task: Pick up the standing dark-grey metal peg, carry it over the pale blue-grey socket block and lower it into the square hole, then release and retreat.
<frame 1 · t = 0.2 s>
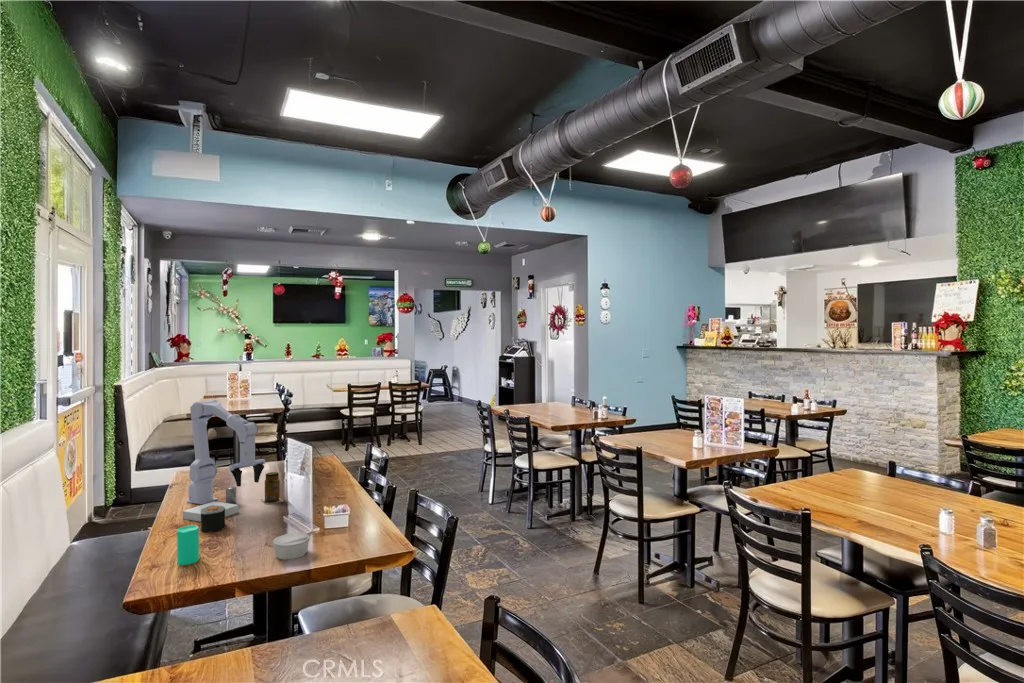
hand: (247, 484, 232), 10 cm above the table, fingers open, 7 cm apart
sushi: (212, 529, 206), on the table
peg: (231, 504, 236), on the table
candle: (188, 561, 176), on the table
ramekin: (291, 555, 181), on the table
socket: (211, 515, 221), on the table
condiment: (272, 501, 241), on the table
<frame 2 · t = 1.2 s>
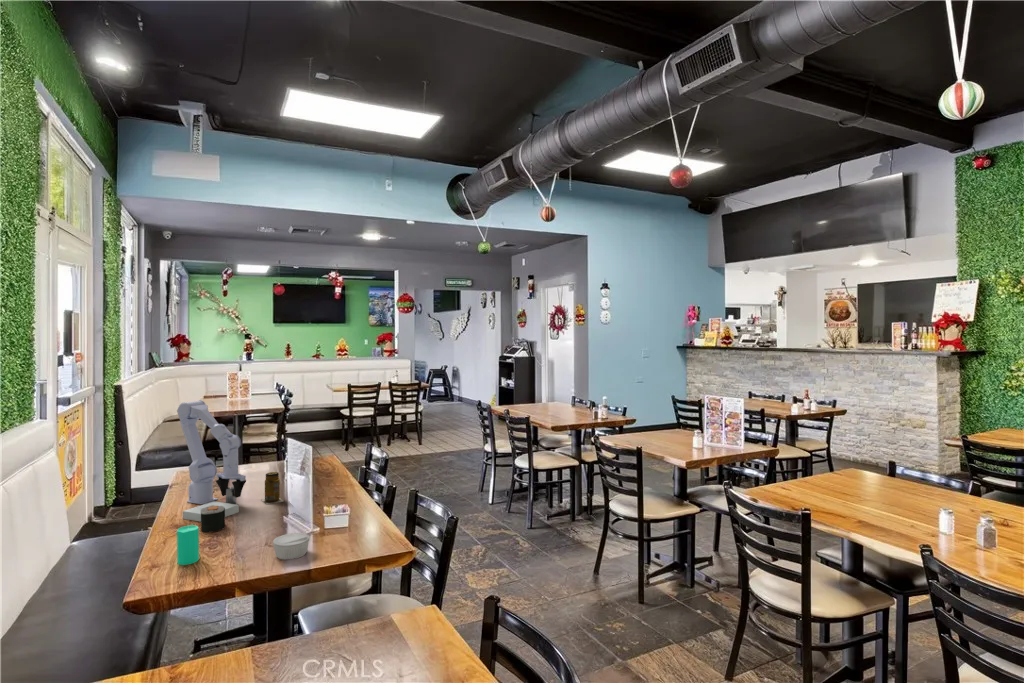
hand: (231, 496, 236), 3 cm above the table, fingers open, 7 cm apart
nothing on the table moved.
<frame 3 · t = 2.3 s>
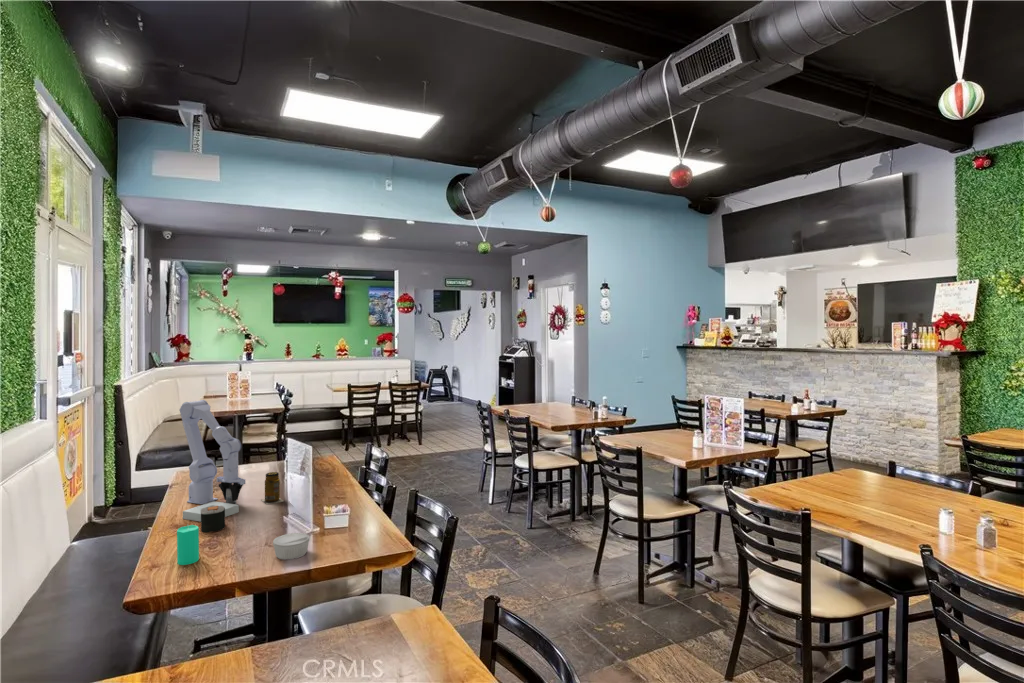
hand: (231, 499, 236), 2 cm above the table, fingers closed on peg, 4 cm apart
peg: (231, 504, 236), on the table, touching gripper
everything else where it was.
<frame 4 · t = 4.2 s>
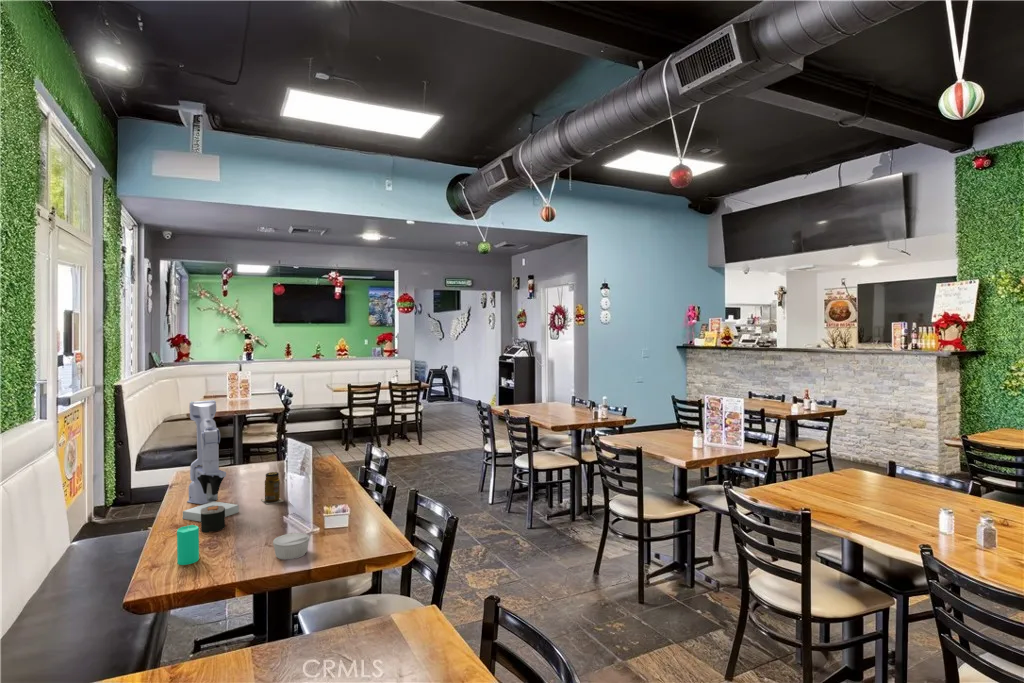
hand: (210, 493, 221), 9 cm above the table, fingers closed on peg, 4 cm apart
peg: (212, 499, 222), point 6 cm above the table, touching gripper
everything else where it was.
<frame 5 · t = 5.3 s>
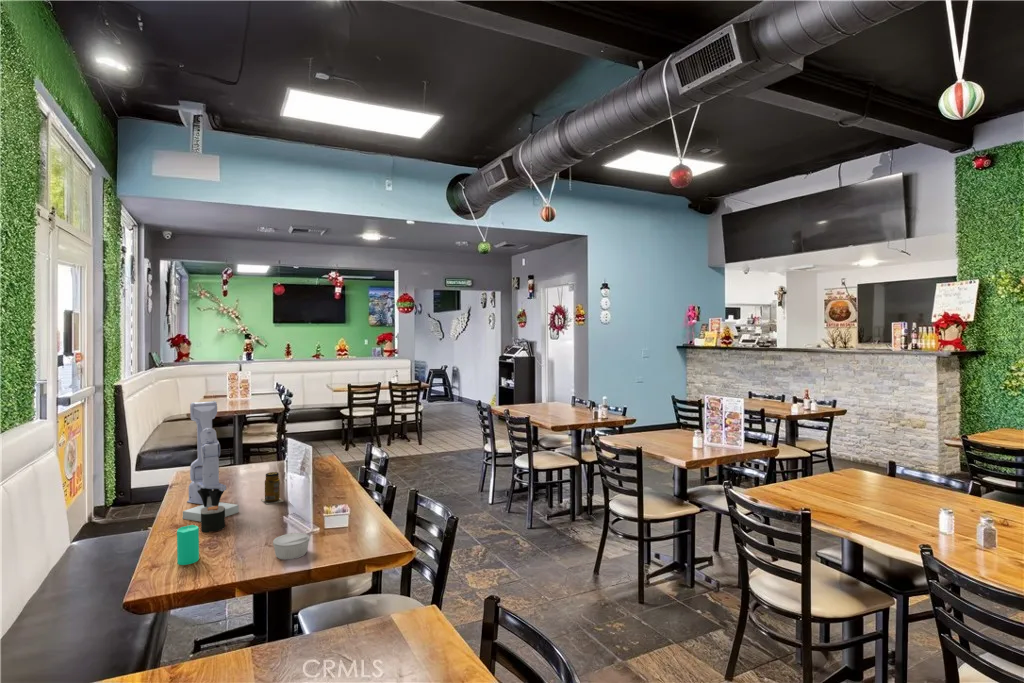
hand: (211, 506, 221), 3 cm above the table, fingers closed on peg, 4 cm apart
peg: (212, 512, 222), point 1 cm above the table, touching gripper
everything else where it was.
when the fingers open (3 cm above the table, at t = 6.2 s): peg stays where it is, resting in socket.
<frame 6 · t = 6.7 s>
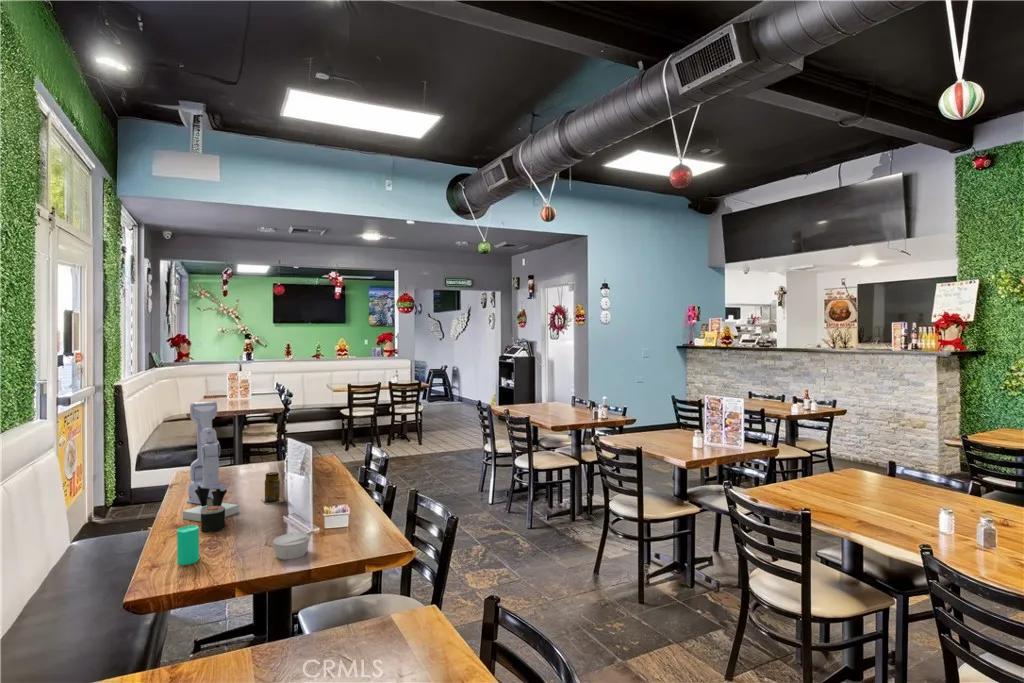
hand: (211, 506, 221), 3 cm above the table, fingers open, 7 cm apart
peg: (212, 515, 222), resting in socket
everything else where it was.
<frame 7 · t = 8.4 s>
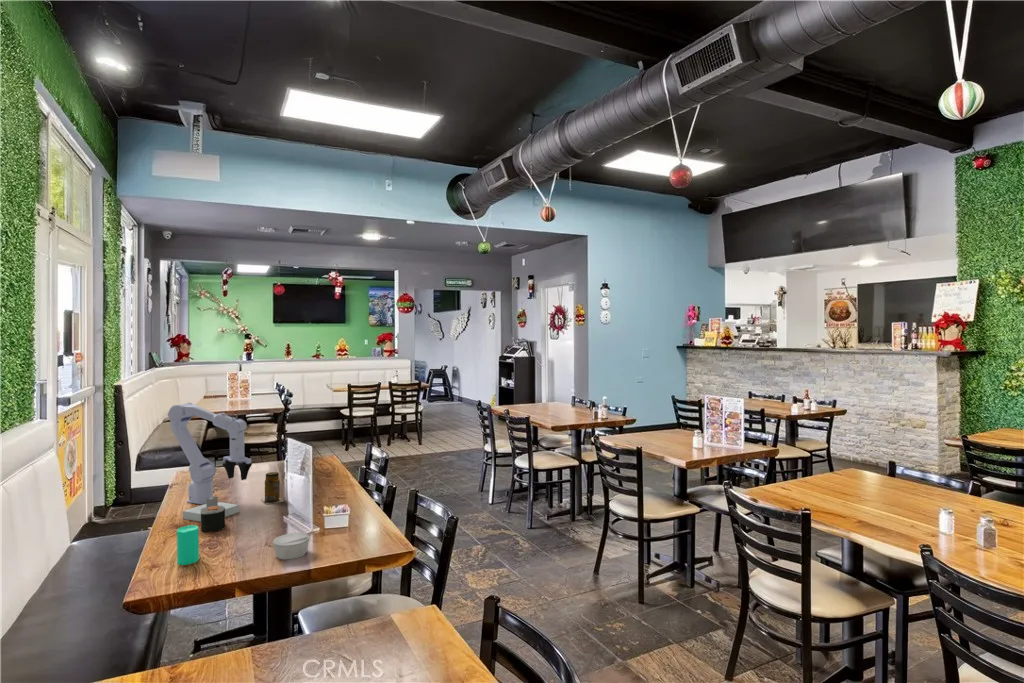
hand: (237, 478, 240), 10 cm above the table, fingers open, 7 cm apart
nothing on the table moved.
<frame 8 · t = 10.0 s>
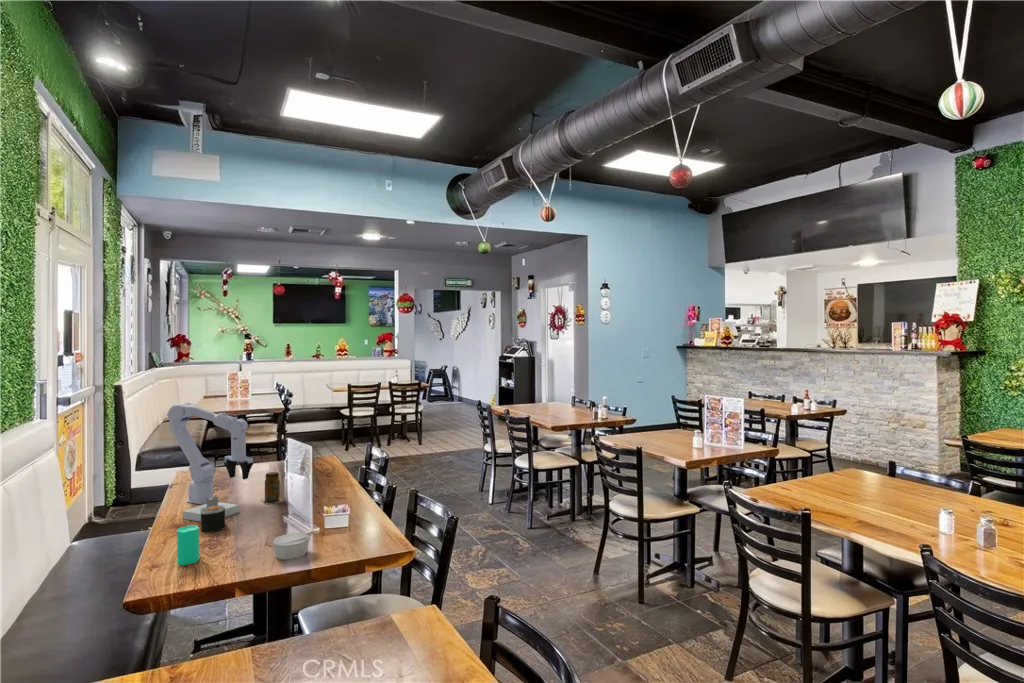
hand: (238, 478, 241), 10 cm above the table, fingers open, 7 cm apart
nothing on the table moved.
at the end: peg 0.5 cm off-centre on the socket, point 0.0 cm above the socket's base; peg tilted 1°; the gripper is holding nothing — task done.
